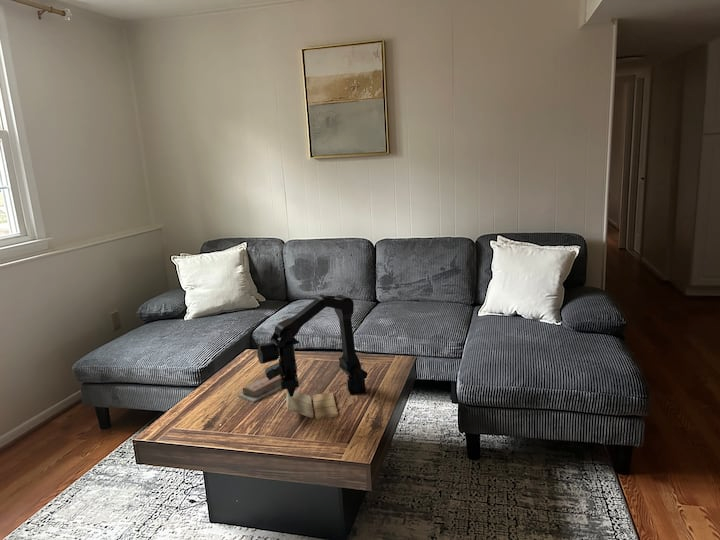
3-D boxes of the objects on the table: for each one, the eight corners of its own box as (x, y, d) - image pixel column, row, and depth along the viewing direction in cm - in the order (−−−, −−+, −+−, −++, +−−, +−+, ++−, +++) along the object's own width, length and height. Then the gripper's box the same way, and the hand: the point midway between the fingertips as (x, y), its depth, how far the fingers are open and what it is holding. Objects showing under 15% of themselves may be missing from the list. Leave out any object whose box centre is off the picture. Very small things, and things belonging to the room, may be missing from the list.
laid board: (332, 395, 209) (332, 392, 208) (338, 416, 191) (337, 413, 191) (312, 397, 208) (312, 394, 207) (315, 419, 190) (315, 416, 190)
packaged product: (269, 371, 226) (286, 375, 220) (271, 381, 227) (287, 386, 221) (236, 386, 212) (252, 392, 206) (237, 397, 213) (253, 403, 207)
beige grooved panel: (309, 399, 206) (310, 396, 206) (312, 418, 191) (313, 415, 191) (285, 390, 204) (287, 387, 204) (286, 408, 189) (288, 405, 188)
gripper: (265, 350, 201) (269, 388, 204) (264, 369, 183) (269, 410, 186) (294, 347, 203) (298, 384, 206) (296, 365, 185) (300, 406, 188)
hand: (291, 396), depth 196 cm, fingers closed
